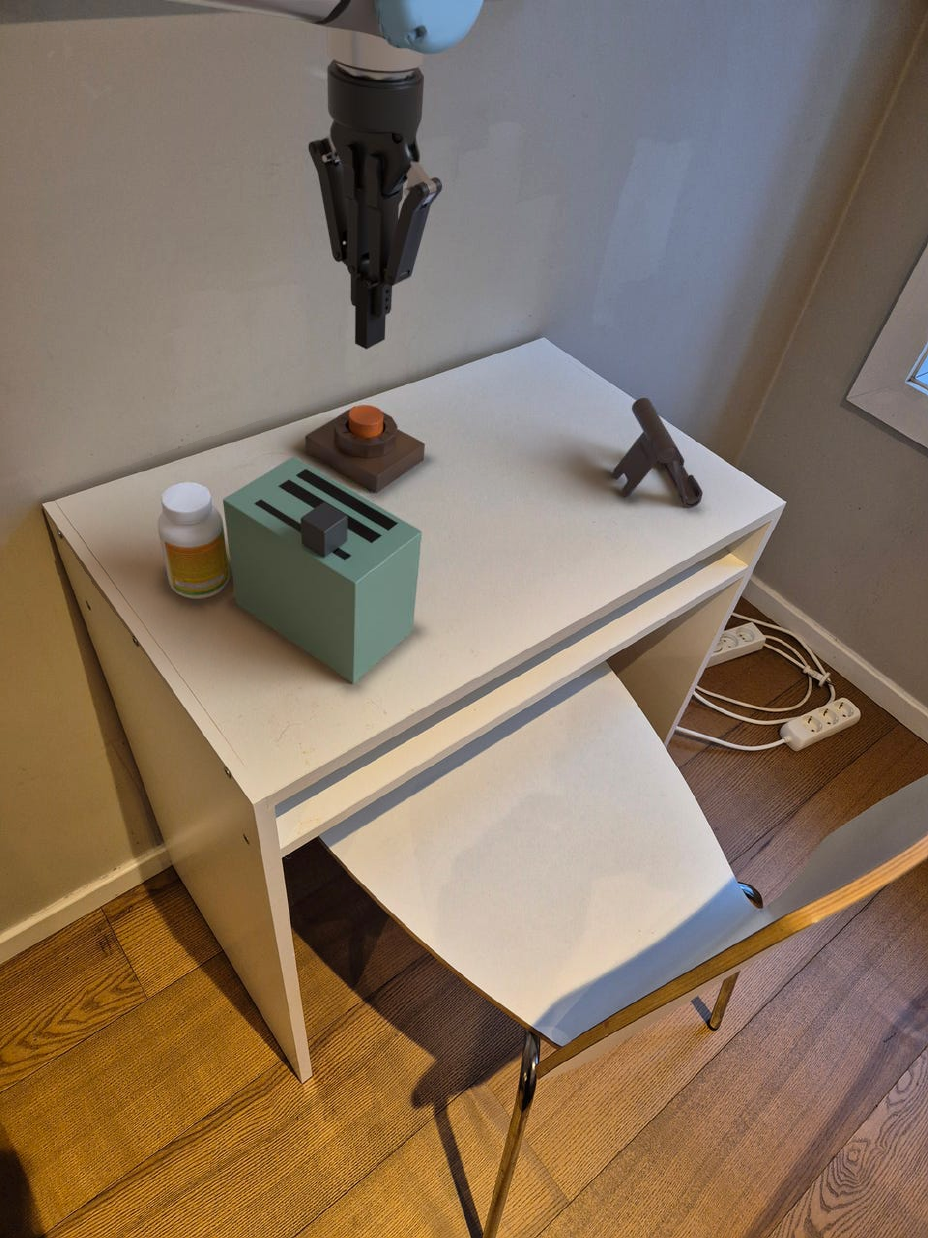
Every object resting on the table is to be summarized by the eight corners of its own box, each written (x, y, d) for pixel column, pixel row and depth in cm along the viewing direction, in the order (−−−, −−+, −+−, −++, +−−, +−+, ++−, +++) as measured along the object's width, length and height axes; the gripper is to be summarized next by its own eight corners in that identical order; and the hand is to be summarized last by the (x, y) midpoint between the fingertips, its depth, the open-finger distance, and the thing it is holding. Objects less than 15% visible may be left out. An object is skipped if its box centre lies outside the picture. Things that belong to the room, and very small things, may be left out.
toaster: (235, 603, 77) (222, 498, 68) (298, 558, 82) (293, 455, 73) (353, 684, 72) (355, 583, 64) (412, 631, 77) (422, 530, 68)
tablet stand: (698, 509, 94) (723, 445, 88) (630, 511, 92) (651, 447, 86) (671, 459, 99) (692, 397, 93) (606, 461, 98) (624, 397, 92)
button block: (305, 452, 93) (304, 421, 90) (354, 422, 98) (355, 391, 95) (376, 493, 90) (377, 462, 87) (423, 460, 94) (426, 429, 91)
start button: (341, 428, 91) (341, 414, 89) (364, 414, 93) (364, 400, 91) (367, 443, 89) (367, 428, 88) (389, 428, 92) (390, 414, 90)
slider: (301, 543, 66) (300, 517, 64) (324, 527, 67) (324, 501, 65) (324, 558, 65) (324, 532, 63) (347, 541, 66) (348, 515, 65)
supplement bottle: (240, 586, 79) (230, 503, 72) (185, 608, 76) (169, 525, 69) (213, 551, 81) (201, 469, 74) (158, 572, 79) (141, 488, 72)
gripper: (472, 78, 67) (446, 353, 84) (345, 34, 71) (345, 303, 88) (411, 97, 62) (396, 383, 79) (280, 49, 67) (293, 329, 84)
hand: (369, 341), depth 84 cm, fingers closed
